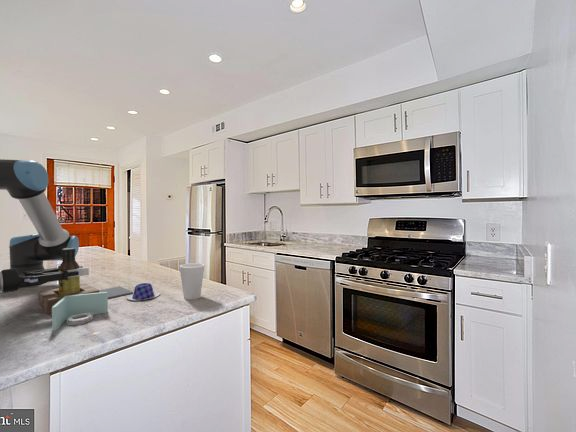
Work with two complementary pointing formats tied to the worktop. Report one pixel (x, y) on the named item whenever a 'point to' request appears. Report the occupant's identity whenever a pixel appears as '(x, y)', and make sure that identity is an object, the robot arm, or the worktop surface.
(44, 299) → the walnut collar
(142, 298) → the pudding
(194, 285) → the foam cup
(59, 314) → the mint folded panel
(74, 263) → the sauce bottle
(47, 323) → the worktop surface
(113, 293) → the grey mat
